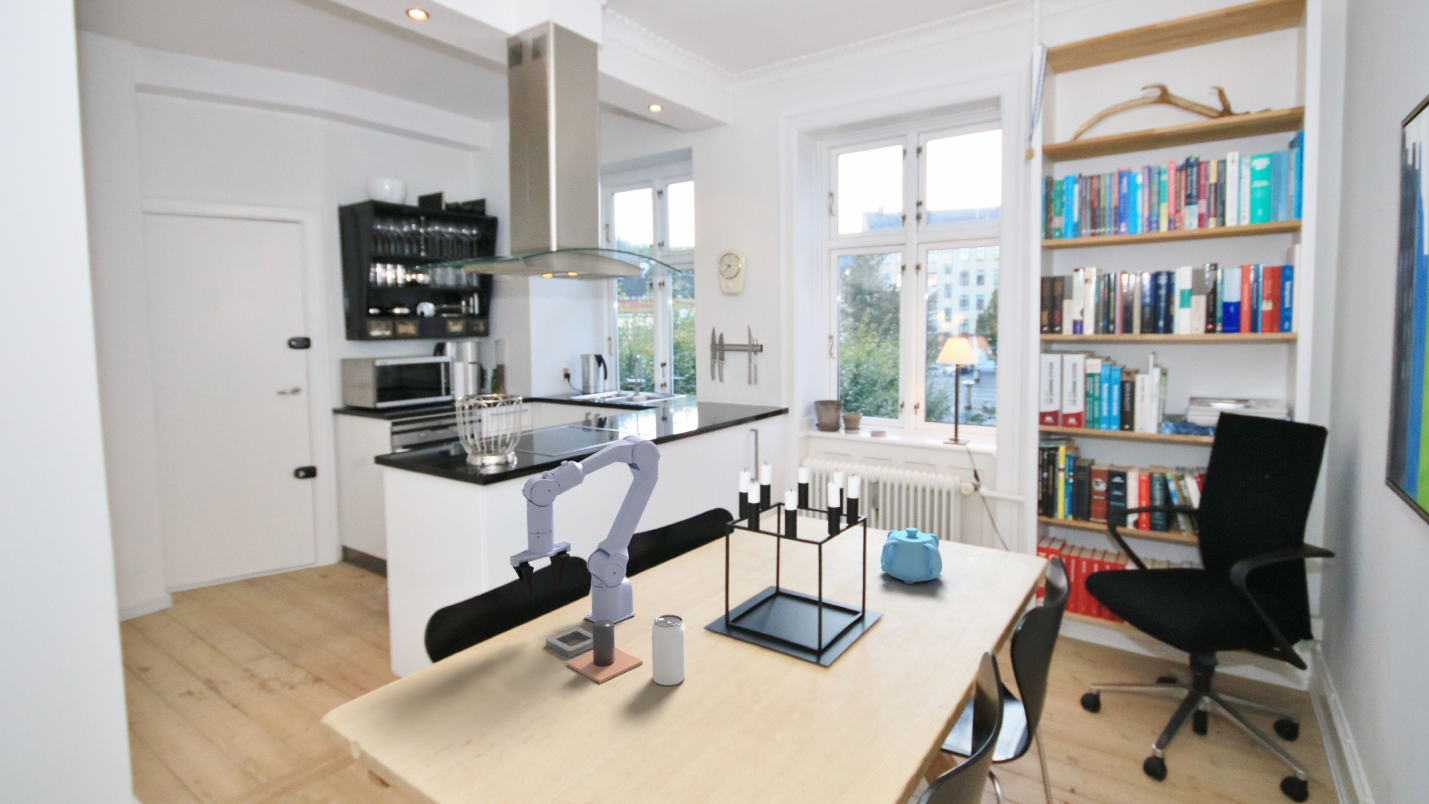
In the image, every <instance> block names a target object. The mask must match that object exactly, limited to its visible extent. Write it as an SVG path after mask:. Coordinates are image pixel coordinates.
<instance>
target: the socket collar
mask: <svg viewBox="0 0 1429 804" xmlns="http://www.w3.org/2000/svg"><path fill="white" fill-rule="evenodd" d="M575 638H578V639H579V640H581V641H582V642H579V643H577V644H574V645H572V646H570V645H568V644H566V643H565V642H568V641H571V640H574V639H575ZM545 647H548V648H549V649H551V650H552V651H555V652H557V653H559V654H561V655H563V656H564V657H566V658H568V659H571V658H574V657H575V656H576V657H577V656H579V655H580V654H583V653H585V652H588V651H591V650H593V635H592V632H590V631H588V630H586V629H584V628H581V627H580V626H577V627H575V628H571V629H568V630H566V631H563V632H561V633H558V634H555V635H552V636H551V637H550V636H549V637H548V638H546V639H545Z"/></svg>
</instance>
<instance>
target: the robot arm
mask: <svg viewBox="0 0 1429 804" xmlns="http://www.w3.org/2000/svg"><path fill="white" fill-rule="evenodd" d="M660 459H661V453H660V451H659V449H658V445H656V443H654V442H653V441H652V440H649V439H644V438H640V437H639V436H638V437H637V435H632V434H630V435H626V436H624V437H623V438H619V439H617V440H615V441H614V442H612V443H611V444H609V445H608V446H605V447H604V448H602V449H601V450H599V451H596V452H595V453H593V454H591V455H590V456H588V457H586V458H584V459H583V460H581V461H579V462H576V461H574V460H570V461H567V460H563V461H561V462H560V465H559V466H557V467H555V468H553V469H552V470H549V471H547V470H545V471H542V473H541V474H542V475H541V476H540V475H538V476H537V475H536V476H531V477H530V478H528V479H527V480H526V482H525V483H524V484H523V488H522V489H521V492H522V496H523V497H524V498H525V499H526V526H527V527H526V528H527V529H526V530H527V532H526V533H527V549H525V550H522V551H520V552H519V553H517V554H514V555H511V556H509V559H510V560H509V562H510V564H509V565H511V566H512V568H513V570H514V571H515V573H516V574H517V576H518V579H519V582H520V583H521V587H522V590H523V593H524V594H525V595H527V596H531V595H533V594H532V593H533V575H534V569H535V567H534V566H532V565H531V564H530V562H533V561H536V560H540V559H543V558H549V561H550V565H551V579H552V584H553V585H554V586H557V587H558V586H559V587H560V586H561V584H562V579H563V575H564V572H565V569H566V567H567V564H568V562H569V560H570V559H571V555H570V553H569V552H571V551H572V550H571V549H572V548H571V547H572V546H571V545H572V544H571V543H570V542H569V541H562V542H555V533H554V532H555V528H554V507H553V506H554V505H553V503H554V502H555V500H556V498H557V497H558V496H560V495H561V494H563V493H566V492H568V491H570V490H571V489H573V488H576V487H578V486H579V485H581V484H582V483H583V482H584V480H585V477H586V476H587V475H590V474H592V473H594V472H597V471H598V470H601V469H603V468H605V467H608V466H609V465H612V464H615V463H624V464H626V465H627V466H628V467H629V470H630V472H631V475H632V476H633V479H632V482H631V484H630V486H629V488H628V490H627V493H626V495H625V496H624V499H623V501H622V503H621V505H620V508H619V510H618V512H617V515H616V517H615V519H614V520H613V523H612V525H611V527H610V529H609V532H608V534H607V535H606V538H604V539H603V540H601V541H600V542H599V543H598V545H597V546H596V548H595V550H594V551H592V552H591V554H590V555H589V556H588V558H587V561H586V568H587V570H588V572H589V573H590V574H591V579H590V582H591V583H590V584H591V586H590V587H591V589H590V590H591V591H590V592H591V613H588V614H585V615H584V619H587V620H588V621H590V622H592V623H594V622H596V621H599V620H610V621H612V622H614V624H616V623H619V622H621V621H623V620H626V619H628V618H631V617H633V616H635V615H636V613H635V612H634V601H633V600H634V596H633V595H634V594H633V593H634V591H633V586H632V583H631V581H630V580H629V579H628V578H627V577H626V573H627V564H628V561H629V559H630V558H629V552H628V546H629V544H630V543H631V539H632V537H634V536H633V535H634V533H635V531H636V529H637V526H638V525H639V522H640V520H641V517H642V516H643V513H644V511H645V509H646V506H647V505H648V502H649V501H650V498H651V496H652V494H653V490H654V489H655V487H656V485H657V481H658V478H659V461H660Z"/></svg>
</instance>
